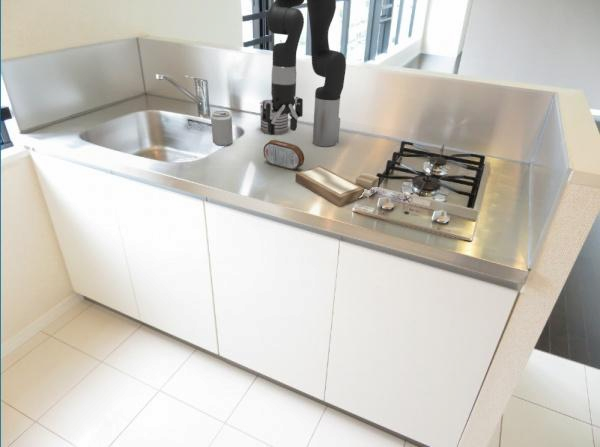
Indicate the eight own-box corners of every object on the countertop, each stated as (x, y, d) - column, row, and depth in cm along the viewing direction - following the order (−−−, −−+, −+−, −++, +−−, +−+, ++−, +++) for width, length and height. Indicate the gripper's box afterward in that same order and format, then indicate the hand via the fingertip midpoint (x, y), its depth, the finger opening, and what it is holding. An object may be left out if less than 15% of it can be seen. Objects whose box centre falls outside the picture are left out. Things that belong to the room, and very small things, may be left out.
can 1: (228, 148, 154) (227, 116, 148) (209, 145, 155) (207, 114, 149) (235, 141, 160) (234, 110, 154) (217, 139, 161) (215, 108, 155)
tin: (304, 170, 139) (305, 146, 135) (299, 173, 137) (300, 149, 133) (267, 160, 146) (267, 136, 141) (262, 162, 143) (261, 139, 139)
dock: (319, 174, 137) (319, 165, 135) (363, 197, 124) (364, 187, 122) (295, 181, 131) (295, 172, 130) (339, 206, 118) (339, 196, 116)
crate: (362, 187, 130) (364, 172, 127) (376, 192, 127) (379, 177, 125) (354, 192, 126) (356, 177, 124) (368, 197, 124) (371, 182, 121)
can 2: (280, 126, 178) (280, 98, 171) (293, 134, 169) (294, 105, 163) (255, 130, 172) (255, 100, 166) (268, 138, 164) (267, 108, 158)
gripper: (294, 76, 133) (292, 125, 141) (257, 80, 125) (257, 132, 134) (309, 81, 128) (306, 132, 137) (271, 85, 120) (271, 139, 129)
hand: (282, 132), depth 135 cm, fingers open, 8 cm apart
